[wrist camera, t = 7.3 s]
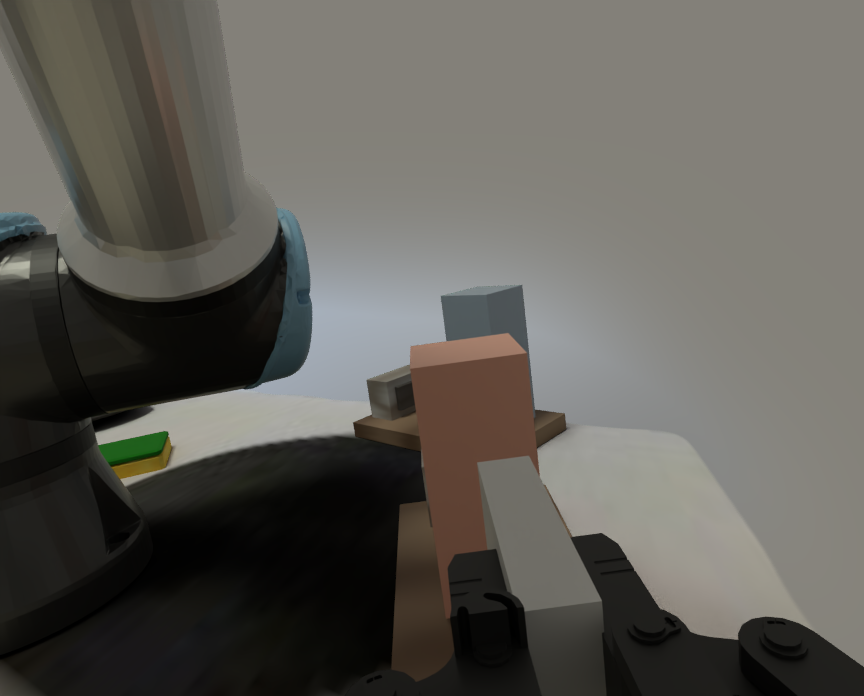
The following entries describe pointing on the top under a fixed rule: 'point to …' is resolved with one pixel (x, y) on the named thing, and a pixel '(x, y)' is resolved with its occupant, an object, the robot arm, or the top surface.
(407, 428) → the wooden board with block
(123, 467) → the dish sponge
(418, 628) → the brown piece
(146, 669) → the top surface
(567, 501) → the top surface
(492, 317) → the slate blue block
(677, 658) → the robot arm
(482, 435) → the terracotta tall block
